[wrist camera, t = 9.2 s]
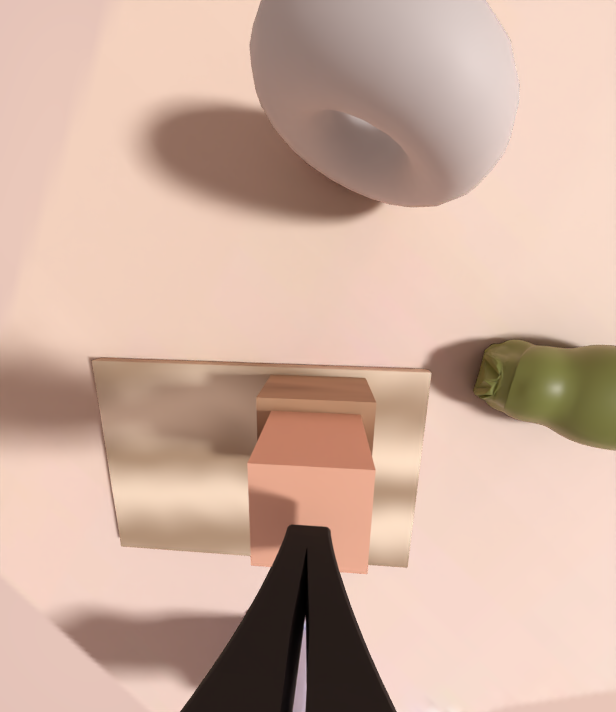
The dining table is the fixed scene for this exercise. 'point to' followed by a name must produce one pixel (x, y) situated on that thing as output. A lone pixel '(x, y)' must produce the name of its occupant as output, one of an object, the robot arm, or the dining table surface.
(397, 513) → the build board
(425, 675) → the dining table surface
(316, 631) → the robot arm
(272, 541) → the top block
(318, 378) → the base block
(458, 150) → the donut
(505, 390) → the pear
